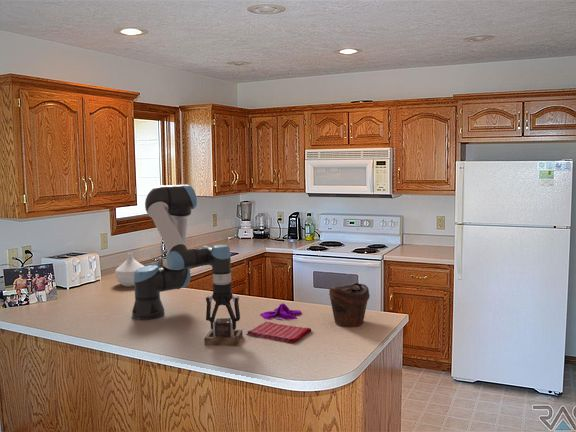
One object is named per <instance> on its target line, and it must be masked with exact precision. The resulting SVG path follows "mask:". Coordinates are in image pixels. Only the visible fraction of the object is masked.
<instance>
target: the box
mask: <svg viewBox="0 0 576 432" xmlns="http://www.w3.org/2000/svg"><path fill="white" fill-rule="evenodd" d="M215 320H216V337H231V327H230V323H231V321H232V320H231V317H227V318H224V317H223V318H215Z"/></svg>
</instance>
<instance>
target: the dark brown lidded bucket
mask: <svg viewBox="0 0 576 432" xmlns="http://www.w3.org/2000/svg"><path fill="white" fill-rule="evenodd" d="M328 290H329V294H328V295H329V299H330V304H331V309H332V315H333V319H334V320H333V321H334V323H335V325H337V326H339V327H342V328H343V327H344V328H345V327H346V328H354V327H361V326H362V325H363V324H364V321H365V315H366V310H367V305H368V301H369V300H370V298H371V297H370V291H369V287H368V286H367V285H366V284H364V283H358V282H356V283H354V284H353V283H352V284H349V285H344V286H337V287H335V286H330V287H329V289H328Z"/></svg>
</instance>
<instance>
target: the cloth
mask: <svg viewBox="0 0 576 432" xmlns="http://www.w3.org/2000/svg"><path fill="white" fill-rule="evenodd" d="M259 316H261V317H263V319H264V320H270V319H274V318H275V320H278V321H284V320H298V319H299V318H298V317H297V316H302V311H301V310H297V309H294V310H293V309H290V308H289V306H287V305H286V304H285V303H282V302H281V303H280V304H279V306H278V307H277V308H274V309H273V311H272V310H270V311H263V312H261V313H260V314H259Z"/></svg>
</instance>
